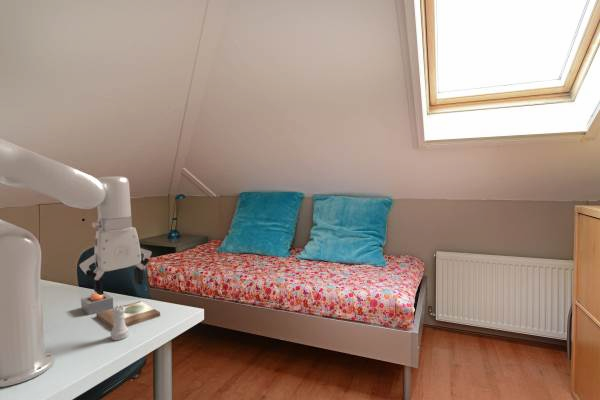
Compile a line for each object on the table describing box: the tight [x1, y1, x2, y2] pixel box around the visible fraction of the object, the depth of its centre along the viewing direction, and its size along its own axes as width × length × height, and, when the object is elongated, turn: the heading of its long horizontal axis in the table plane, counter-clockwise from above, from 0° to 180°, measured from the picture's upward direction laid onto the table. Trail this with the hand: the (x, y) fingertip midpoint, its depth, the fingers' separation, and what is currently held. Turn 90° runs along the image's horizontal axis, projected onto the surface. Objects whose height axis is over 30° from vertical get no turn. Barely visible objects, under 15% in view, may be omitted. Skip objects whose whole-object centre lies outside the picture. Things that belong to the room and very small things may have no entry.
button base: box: [80, 292, 114, 316], centre depth 110 cm, size 7×7×3 cm
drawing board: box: [95, 300, 161, 329], centre depth 104 cm, size 13×14×1 cm
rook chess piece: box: [109, 305, 130, 341], centre depth 90 cm, size 4×4×8 cm
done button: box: [89, 292, 103, 302], centre depth 110 cm, size 4×4×2 cm
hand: (120, 288), depth 90 cm, fingers open, 9 cm apart
